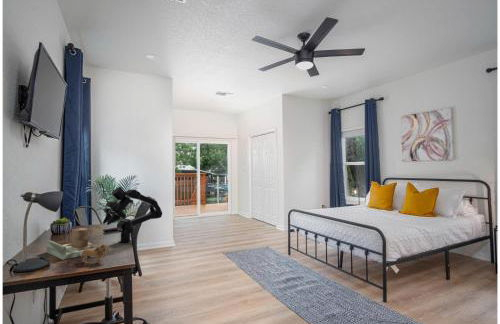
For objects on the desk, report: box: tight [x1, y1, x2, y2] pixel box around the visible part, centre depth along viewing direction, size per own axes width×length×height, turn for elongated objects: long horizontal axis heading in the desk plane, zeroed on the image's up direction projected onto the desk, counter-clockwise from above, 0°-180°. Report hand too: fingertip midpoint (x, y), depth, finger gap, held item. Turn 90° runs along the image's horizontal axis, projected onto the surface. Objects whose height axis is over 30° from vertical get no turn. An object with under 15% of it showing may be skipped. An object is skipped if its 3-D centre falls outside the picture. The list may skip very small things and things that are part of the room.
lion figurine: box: [77, 243, 110, 264], centre depth 150 cm, size 15×5×9 cm, turn 105°
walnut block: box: [71, 227, 89, 248], centre depth 170 cm, size 6×7×10 cm
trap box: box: [46, 239, 101, 261], centre depth 168 cm, size 20×22×6 cm
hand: (105, 224), depth 182 cm, fingers open, 5 cm apart
